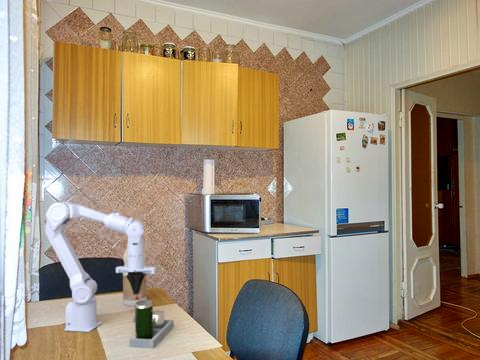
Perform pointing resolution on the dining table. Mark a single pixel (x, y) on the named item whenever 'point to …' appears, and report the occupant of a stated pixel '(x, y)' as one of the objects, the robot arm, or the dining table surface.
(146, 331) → the beer can
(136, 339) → the grey piece
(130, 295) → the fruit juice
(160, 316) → the metal billet
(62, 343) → the dining table surface
